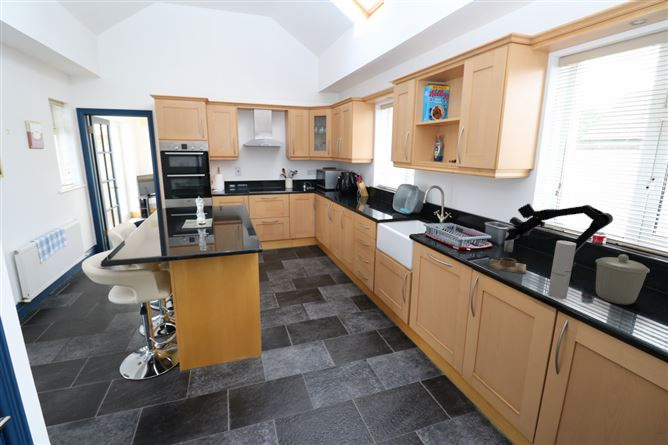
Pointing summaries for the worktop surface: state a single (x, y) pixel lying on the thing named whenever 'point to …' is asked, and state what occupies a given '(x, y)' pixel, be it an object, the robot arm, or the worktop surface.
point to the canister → (619, 279)
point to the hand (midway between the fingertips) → (507, 239)
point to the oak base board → (518, 269)
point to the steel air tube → (508, 243)
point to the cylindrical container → (561, 269)
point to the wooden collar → (508, 262)
